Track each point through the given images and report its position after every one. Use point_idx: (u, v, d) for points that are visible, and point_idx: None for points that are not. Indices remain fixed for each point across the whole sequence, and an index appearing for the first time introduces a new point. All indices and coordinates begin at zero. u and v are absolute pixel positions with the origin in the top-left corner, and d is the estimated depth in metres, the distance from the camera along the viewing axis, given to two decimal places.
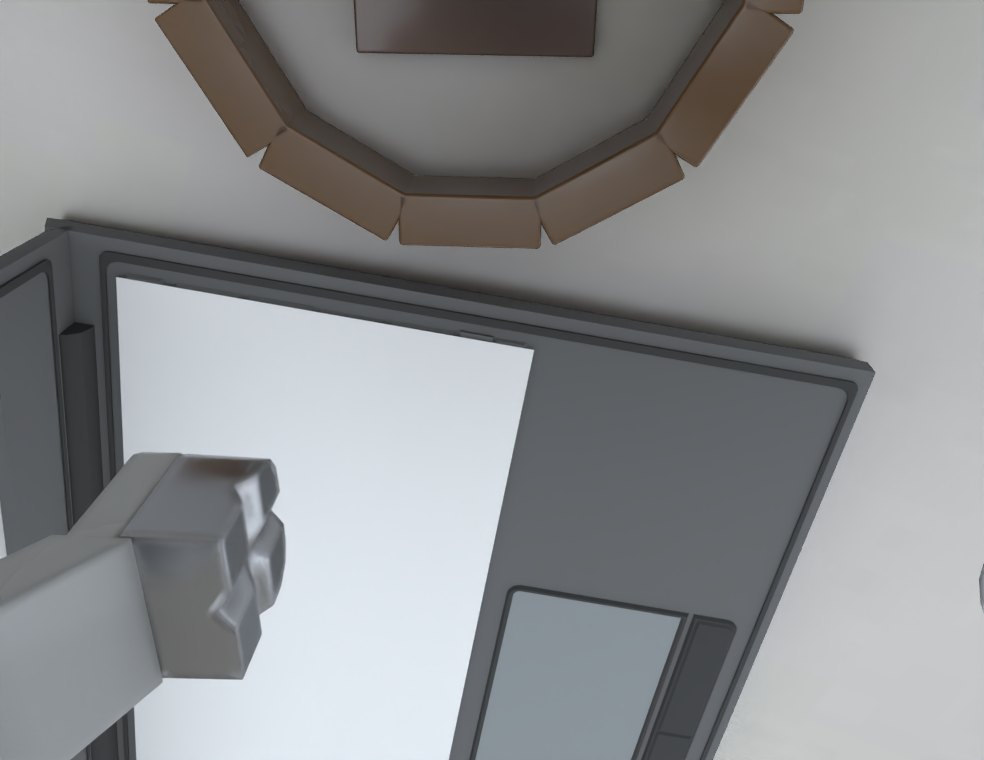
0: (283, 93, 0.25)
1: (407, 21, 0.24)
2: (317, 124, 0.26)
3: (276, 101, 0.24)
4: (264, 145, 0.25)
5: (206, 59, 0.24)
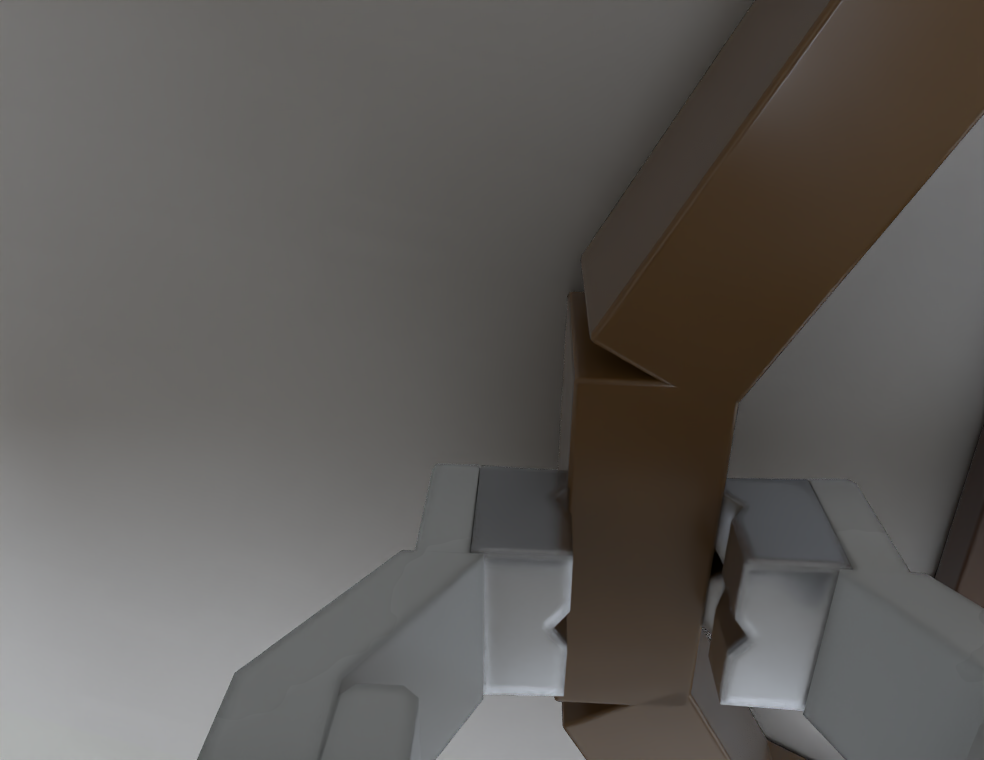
0: None
1: None
2: None
3: None
4: None
5: None
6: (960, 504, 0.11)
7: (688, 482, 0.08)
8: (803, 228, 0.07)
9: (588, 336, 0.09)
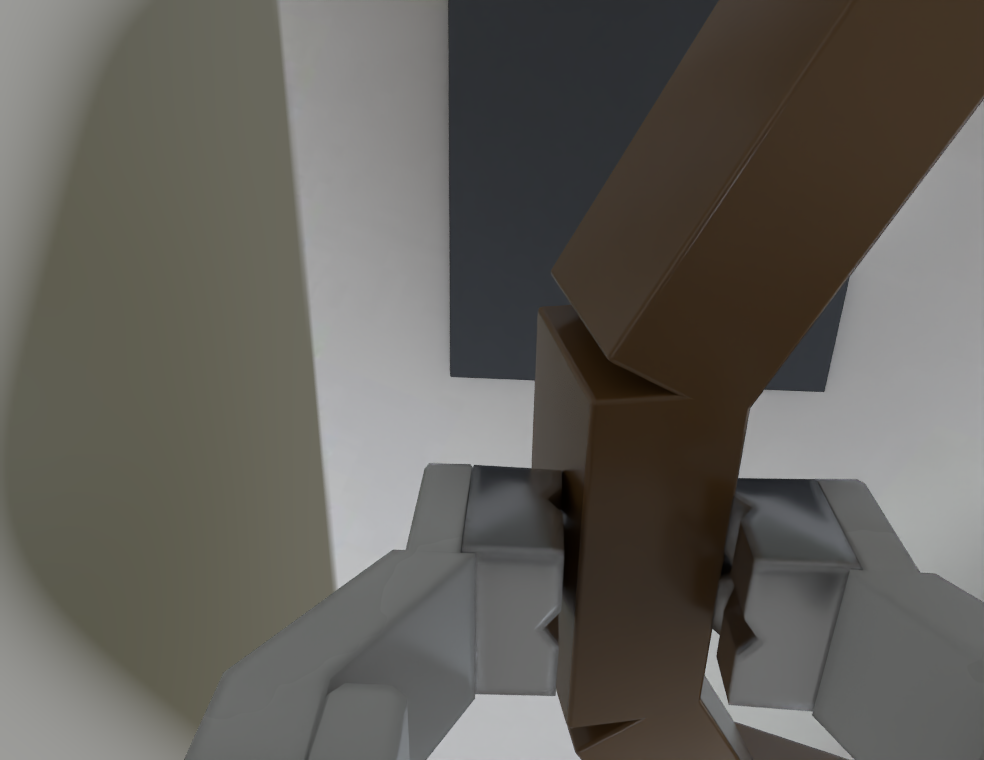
0: (746, 751, 0.12)
1: None
2: None
3: None
4: None
5: None
6: None
7: (702, 491, 0.08)
8: (813, 232, 0.07)
9: (583, 353, 0.09)
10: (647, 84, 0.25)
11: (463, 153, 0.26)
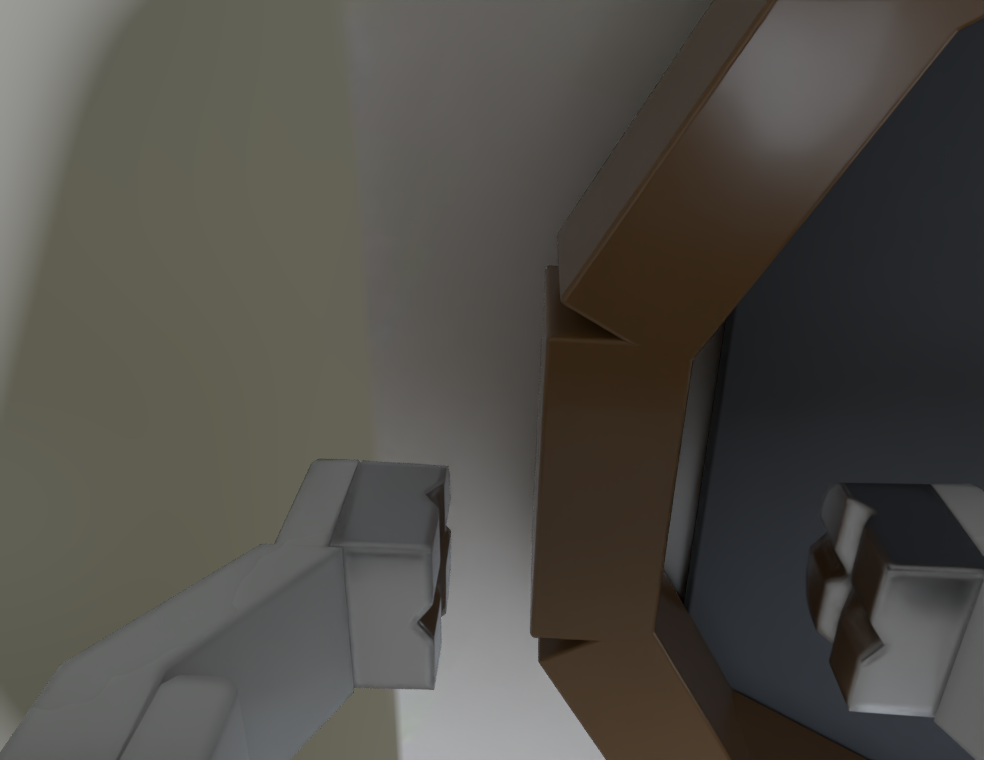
0: (727, 709, 0.13)
1: None
2: (768, 737, 0.14)
3: None
4: None
5: (630, 722, 0.12)
6: None
7: (649, 432, 0.09)
8: (746, 203, 0.08)
9: (562, 303, 0.10)
10: None
11: (749, 422, 0.12)
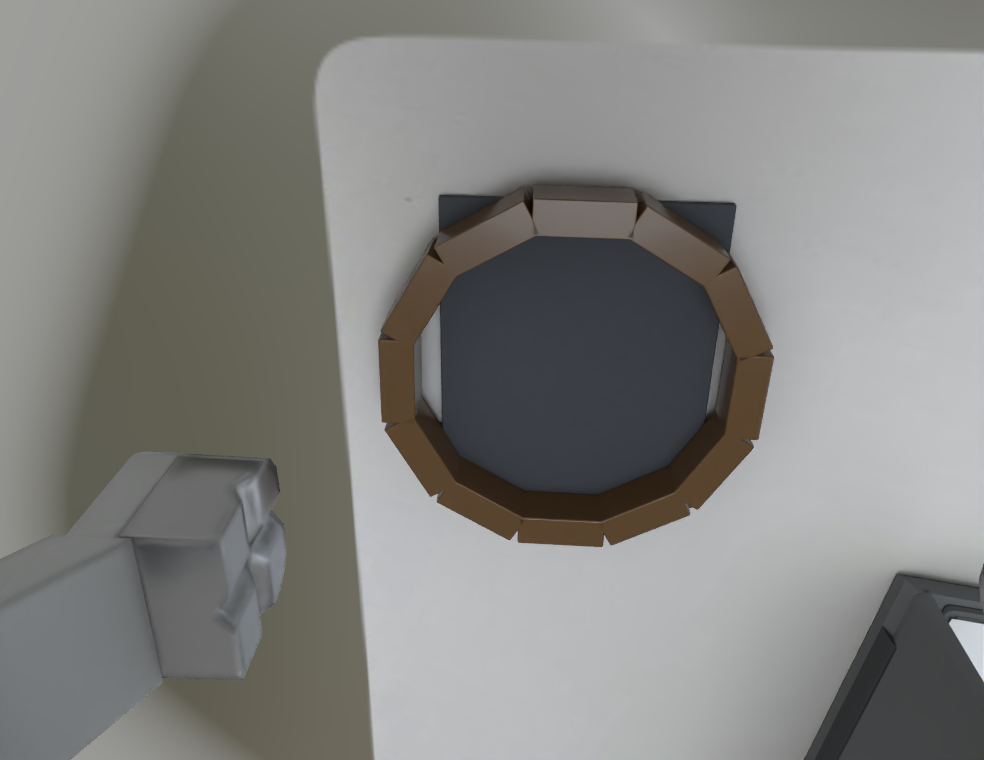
0: (450, 455, 0.42)
1: None
2: (468, 468, 0.43)
3: (449, 468, 0.41)
4: (441, 491, 0.41)
5: (412, 449, 0.40)
6: None
7: (405, 363, 0.38)
8: (419, 309, 0.37)
9: None
10: (566, 327, 0.40)
11: (450, 364, 0.41)
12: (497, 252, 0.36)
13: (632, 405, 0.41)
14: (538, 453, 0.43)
